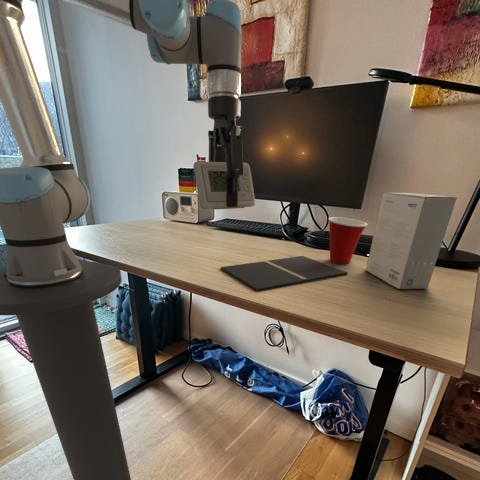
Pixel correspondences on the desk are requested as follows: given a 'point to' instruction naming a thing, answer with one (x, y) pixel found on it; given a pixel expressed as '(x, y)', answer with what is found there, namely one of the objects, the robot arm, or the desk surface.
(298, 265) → the desk mat
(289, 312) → the desk surface
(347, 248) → the plastic cup
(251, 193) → the digital clock
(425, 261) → the hard drive box
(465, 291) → the desk surface
